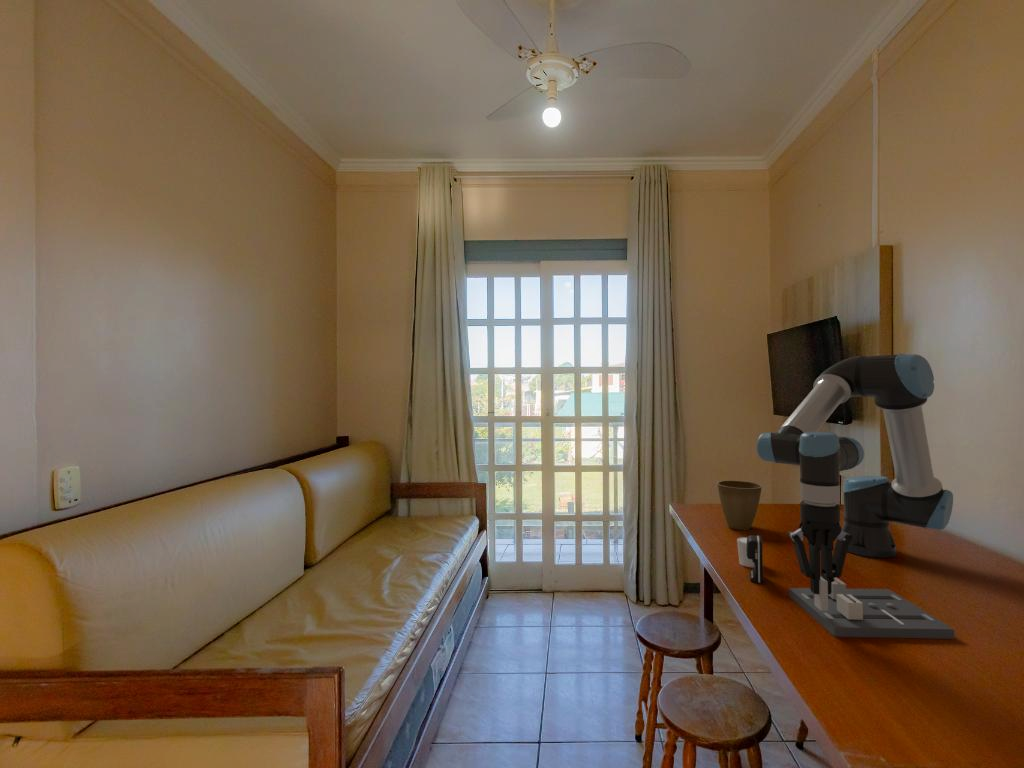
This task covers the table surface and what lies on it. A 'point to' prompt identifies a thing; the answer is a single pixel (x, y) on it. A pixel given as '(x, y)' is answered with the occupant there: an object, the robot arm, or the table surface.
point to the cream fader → (849, 606)
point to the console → (875, 616)
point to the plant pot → (739, 502)
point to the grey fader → (837, 588)
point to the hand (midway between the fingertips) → (821, 607)
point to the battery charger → (755, 557)
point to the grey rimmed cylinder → (743, 552)
